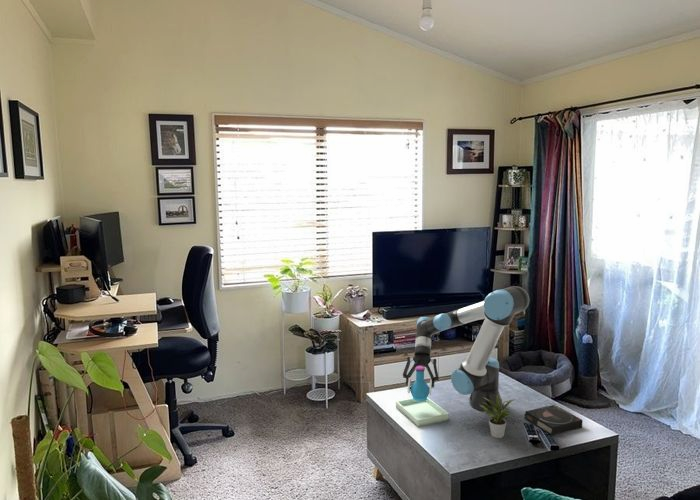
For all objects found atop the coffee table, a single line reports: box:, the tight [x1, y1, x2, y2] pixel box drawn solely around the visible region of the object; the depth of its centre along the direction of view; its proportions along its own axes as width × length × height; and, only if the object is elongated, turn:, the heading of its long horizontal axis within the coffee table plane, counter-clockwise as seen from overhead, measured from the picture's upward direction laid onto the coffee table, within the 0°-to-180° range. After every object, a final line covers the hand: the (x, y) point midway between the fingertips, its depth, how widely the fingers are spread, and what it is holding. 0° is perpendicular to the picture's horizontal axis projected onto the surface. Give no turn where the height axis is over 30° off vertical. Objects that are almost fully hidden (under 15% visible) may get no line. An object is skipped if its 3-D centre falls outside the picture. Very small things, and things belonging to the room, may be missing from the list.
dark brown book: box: [524, 404, 583, 436], centre depth 227 cm, size 16×17×4 cm
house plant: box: [480, 395, 516, 439], centre depth 218 cm, size 14×14×16 cm
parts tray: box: [395, 396, 450, 428], centre depth 239 cm, size 21×16×3 cm
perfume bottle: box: [410, 366, 430, 401], centre depth 237 cm, size 9×9×15 cm
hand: (419, 393), depth 235 cm, fingers closed on perfume bottle, 9 cm apart
